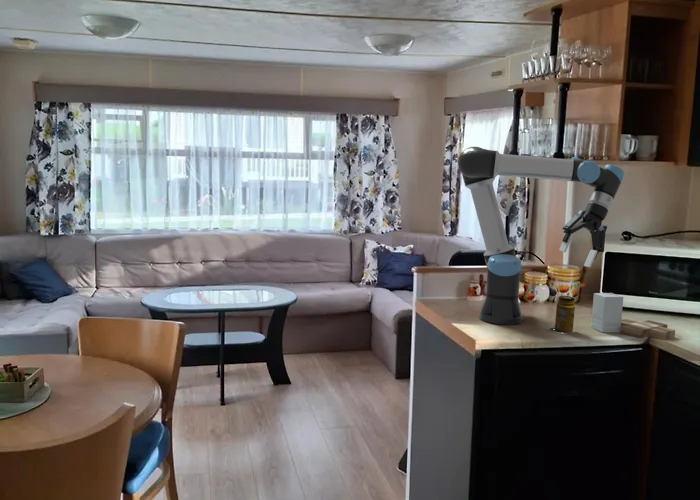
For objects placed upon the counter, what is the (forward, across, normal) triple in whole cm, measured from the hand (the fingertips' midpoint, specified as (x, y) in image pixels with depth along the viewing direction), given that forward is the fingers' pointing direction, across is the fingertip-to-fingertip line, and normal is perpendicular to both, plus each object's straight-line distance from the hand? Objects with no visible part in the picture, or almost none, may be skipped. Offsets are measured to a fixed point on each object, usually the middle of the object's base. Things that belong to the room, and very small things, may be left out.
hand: (574, 259), depth 234 cm
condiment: (+26, 0, -8) cm, 28 cm away
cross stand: (+14, +25, -18) cm, 34 cm away
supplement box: (+19, +16, -12) cm, 27 cm away
